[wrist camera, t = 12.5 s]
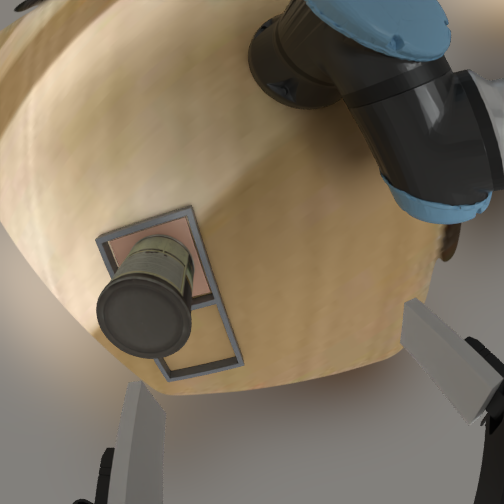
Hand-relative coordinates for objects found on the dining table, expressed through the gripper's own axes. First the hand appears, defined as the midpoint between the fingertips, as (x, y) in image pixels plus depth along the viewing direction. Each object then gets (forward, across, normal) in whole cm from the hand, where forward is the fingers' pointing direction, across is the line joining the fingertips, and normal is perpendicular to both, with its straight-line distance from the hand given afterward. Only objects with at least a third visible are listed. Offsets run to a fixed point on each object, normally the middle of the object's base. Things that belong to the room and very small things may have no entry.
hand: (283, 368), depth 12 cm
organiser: (+29, -12, -11) cm, 33 cm away
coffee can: (+29, -12, -4) cm, 31 cm away
